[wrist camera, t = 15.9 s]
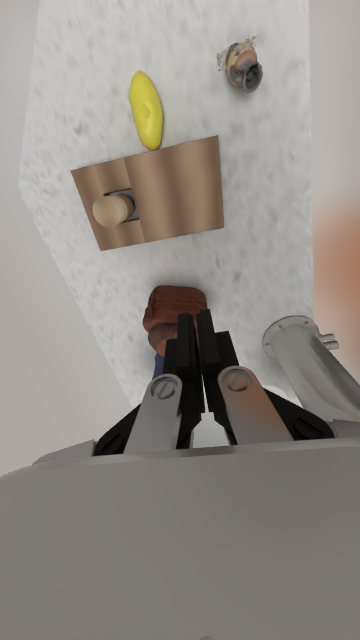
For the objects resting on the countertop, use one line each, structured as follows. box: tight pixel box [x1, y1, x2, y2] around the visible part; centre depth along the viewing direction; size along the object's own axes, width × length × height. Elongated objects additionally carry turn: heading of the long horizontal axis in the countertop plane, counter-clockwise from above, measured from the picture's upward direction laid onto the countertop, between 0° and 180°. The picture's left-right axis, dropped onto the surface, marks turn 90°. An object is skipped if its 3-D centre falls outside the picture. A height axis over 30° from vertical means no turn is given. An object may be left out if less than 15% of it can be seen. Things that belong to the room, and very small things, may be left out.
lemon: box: [130, 71, 163, 151], centre depth 29 cm, size 4×8×4 cm, turn 6°
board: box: [71, 135, 224, 251], centre depth 35 cm, size 22×12×3 cm, turn 100°
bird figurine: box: [217, 35, 263, 93], centre depth 26 cm, size 5×5×6 cm
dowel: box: [93, 194, 135, 228], centre depth 32 cm, size 4×4×11 cm
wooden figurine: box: [143, 286, 207, 357], centre depth 38 cm, size 12×6×18 cm, turn 85°
